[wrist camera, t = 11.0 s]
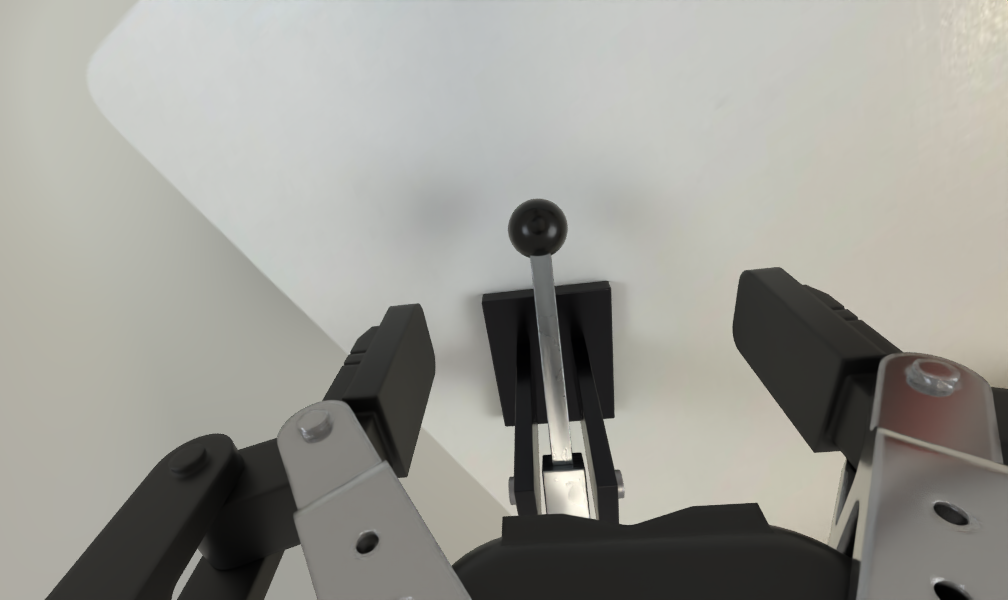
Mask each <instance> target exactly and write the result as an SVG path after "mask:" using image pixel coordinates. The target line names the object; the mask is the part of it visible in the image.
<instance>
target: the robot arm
mask: <svg viewBox="0 0 1008 600" xmlns="http://www.w3.org/2000/svg"><path fill="white" fill-rule="evenodd" d="M733 337H734V341H735V344H736V347H737V349H738V350H739V352H740V353H741V354H742V356H743V357H744V358H745V360H746V361H747V363H748V364H749V365H750V367H751V368H752V369H753V371H754V372H755V373H756V375H757V376H758V377H759V379H760V380H761V381H762V383H763V384H764V386H765V387H766V388H767V390H768V391H769V392H770V394H771V395H772V396H773V398H774V399H775V400H776V402H777V403H778V404H779V406H780V407H781V408H782V410H783V411H784V413H785V414H786V415H787V417H788V418H789V419H790V421H791V422H792V423H793V425H794V426H795V427H796V429H797V430H798V431H799V433H800V434H801V436H802V437H803V438H804V440H805V441H806V442H807V444H808V445H809V446H810V448H811V449H812V450H813V452H814V453H816V452H832V451H841V452H842V453H843V454H844V455H845V457H846V460H845V462H844V465H843V468H842V471H841V477H840V482H839V488H838V493H837V498H836V504H835V509H834V514H833V520H832V525H831V530H830V536H829V541H828V545H826V544H824V543H822V542H820V541H818V540H815V539H813V538H811V537H808V536H805V535H803V534H800V533H797V532H795V531H791V530H788V529H784V528H781V527H777V526H772V525H769V524H768V522H767V521H766V519H765V517H764V515H763V513H762V511H761V509H760V507H759V505H758V503H745V504H727V505H709V506H692V507H689V508H685V509H682V510H679V511H676V512H673V513H670V514H667V515H663V516H660V517H657V518H654V519H651V520H648V521H644V522H641V523H638V524H634V525H622V524H617V523H611V522H606V521H601V520H595V519H590V518H584V517H579V516H574V515H568V514H563V513H561V514H543V515H524V516H508V517H507V516H506V517H503V521H502V522H503V523H502V537H500V538H498V539H494V540H492V541H489V542H487V543H485V544H483V545H481V546H479V547H477V548H475V549H474V550H472V551H470V552H469V553H467V554H466V555H464V556H463V557H462V558H460V559H459V560H458V561H457V562H455V563H454V564H453V565H452V566H451V565H450V563H449V561H448V560H447V558H446V557H445V555H444V553H443V552H442V550H441V548H440V547H439V545H438V543H437V542H436V540H435V538H434V537H433V535H432V534H431V532H430V530H429V529H428V527H427V525H426V524H425V522H424V520H423V519H422V517H421V515H420V514H419V512H418V510H417V509H416V507H415V506H414V504H413V502H412V501H411V499H410V497H409V496H408V494H407V493H406V491H405V489H404V488H403V486H402V484H401V483H400V481H399V479H398V478H402V477H407V476H408V472H409V468H410V464H411V461H412V457H413V454H414V450H415V446H416V442H417V439H418V435H419V431H420V428H421V424H422V420H423V416H424V413H425V409H426V405H427V402H428V398H429V394H430V390H431V387H432V383H433V379H434V375H435V355H434V350H433V346H432V343H431V339H430V335H429V331H428V327H427V324H426V320H425V316H424V312H423V309H422V307H421V305H420V304H408V305H398V306H390V307H389V309H388V311H387V312H386V314H385V316H384V318H383V320H382V322H381V324H380V326H374V327H371V328H370V329H369V330H368V331H366V332H365V333H364V334H363V335H362V336H361V337H359V338H358V339H357V341H356V343H355V345H354V346H353V348H352V350H351V352H350V353H351V354H350V355H348V357H347V359H346V360H345V362H344V366H342V367H341V369H340V371H339V373H338V374H337V376H336V378H335V379H334V381H333V383H332V385H331V386H330V388H329V390H328V392H327V393H326V395H325V397H324V399H323V400H322V401H321V402H317V403H315V404H312V405H309V406H307V407H305V408H303V409H301V410H300V411H298V412H297V413H295V414H294V415H293V416H291V417H290V418H289V419H288V420H287V421H286V422H285V424H284V425H283V426H282V427H281V429H280V431H279V433H278V436H277V438H275V439H272V440H269V441H266V442H262V443H259V444H256V445H253V446H249V447H246V448H243V449H240V450H237V448H236V446H235V445H234V443H233V441H232V440H231V438H230V437H228V436H227V435H224V434H209V435H205V436H201V437H198V438H196V439H193V440H191V441H189V442H187V443H185V444H183V445H181V446H179V447H178V448H176V449H175V450H173V451H172V452H170V453H169V454H168V455H166V456H165V457H164V458H163V459H162V460H161V461H160V462H159V463H158V464H157V465H156V466H155V467H154V468H153V470H152V471H151V472H150V473H149V474H148V476H147V477H146V478H145V479H144V481H143V482H142V483H141V484H140V485H139V486H138V488H137V489H136V490H135V492H133V494H132V495H131V496H130V498H129V499H128V500H127V501H126V502H125V503H124V505H123V506H122V507H121V509H119V511H118V512H117V513H116V514H115V515H114V517H113V518H112V519H111V520H110V522H109V523H108V524H107V525H106V526H105V528H104V529H103V530H102V531H101V532H100V534H99V535H98V536H97V537H96V538H95V540H94V541H93V542H92V543H91V544H90V546H89V547H88V548H87V549H86V551H85V552H84V553H83V554H82V555H81V557H80V558H79V559H78V560H77V561H76V563H75V564H74V565H73V566H72V568H71V569H70V570H69V571H68V573H67V574H66V575H65V576H64V577H63V578H62V580H61V581H60V582H59V583H58V585H57V586H56V587H55V588H54V589H53V591H52V592H51V593H50V594H49V596H48V597H47V598H46V599H45V600H171V599H172V594H173V590H174V588H175V586H176V583H177V582H178V580H179V578H180V576H181V574H182V573H183V571H184V570H185V568H186V566H187V565H188V563H189V561H190V560H191V558H192V556H193V555H194V553H195V551H196V550H197V548H198V550H199V551H200V552H201V553H202V555H203V556H202V558H201V559H200V561H199V563H198V564H197V566H196V568H195V570H194V571H193V573H192V575H191V577H190V578H189V580H188V582H187V583H186V585H185V587H184V588H183V590H182V592H181V594H180V596H179V597H178V599H177V600H264V598H265V596H266V593H267V591H268V589H269V586H270V584H271V581H272V579H273V577H274V574H275V572H276V569H277V567H278V565H279V562H280V560H281V558H282V555H283V553H284V551H285V549H289V548H291V547H294V546H297V545H300V544H301V546H302V549H303V552H304V556H305V559H306V562H307V566H308V569H309V572H310V576H311V579H312V583H313V586H314V590H315V593H316V596H317V600H1008V389H1004V388H995V387H990V385H989V384H988V382H987V381H986V380H985V379H984V378H983V377H981V376H980V375H979V374H977V373H976V372H974V371H973V370H971V369H969V368H967V367H965V366H963V365H961V364H959V363H956V362H954V361H951V360H948V359H945V358H942V357H938V356H933V355H928V354H922V353H910V352H904V353H903V352H902V351H901V350H900V349H898V348H897V347H896V346H894V345H893V344H892V343H891V342H889V341H888V340H887V339H885V338H884V337H883V336H881V335H880V334H879V333H878V332H876V331H875V330H874V329H872V328H871V327H870V326H869V325H867V324H866V323H865V322H863V321H862V320H858V317H857V316H856V315H854V314H853V313H852V312H851V311H849V310H848V309H844V306H843V305H841V304H840V303H839V302H838V301H836V300H835V299H834V298H832V297H831V296H830V295H829V294H826V293H824V292H822V291H819V290H817V289H815V288H812V287H810V286H807V285H802V284H800V283H799V282H798V281H797V280H795V279H794V278H793V277H792V276H791V275H789V274H788V273H787V272H786V271H784V270H783V269H782V268H780V267H774V268H764V269H754V270H746V271H744V272H742V274H741V276H740V279H739V284H738V291H737V298H736V305H735V312H734V319H733Z"/></svg>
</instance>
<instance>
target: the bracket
mask: <svg viewBox="0 0 1008 600" xmlns="http://www.w3.org/2000/svg"><path fill="white" fill-rule="evenodd" d="M554 288H555V297H556V306H557V316H558V325H559V334H560V344H561V353H562V362H563V372H564V381H565V390H566V400H567V409H568V419H569V422H570V421H581V427H582V433H583V439H584V446H585V452H586V458H587V464H588V470H589V476H590V483H591V489H592V495H593V501H594V507H595V513H596V520H601V521H606V522H611V523H617V524H619V503H618V498H624V485H623V479H622V474H621V471H620V470H614V465H613V461H612V456H611V452H610V448H609V443H608V439H607V434H606V430H605V425H604V421H603V419H609V418H614V417H615V414H614V377H613V341H612V304H611V287H610V285H609V282H608V281H602V282H593V283H584V284H575V285H566V286H557V287H554ZM482 307H483V312H484V318H485V323H486V328H487V333H488V339H489V344H490V349H491V354H492V360H493V365H494V370H495V375H496V381H497V386H498V391H499V396H500V402H501V407H502V412H503V417H504V423H505V426H515V451H514V477H509V498H510V503H511V505H516V506H517V511H518V516H524V515H542V513H541V490H540V466H539V443H538V424H545V423H548V419H547V409H546V400H545V391H544V381H543V372H542V363H541V353H540V344H539V335H538V325H537V316H536V307H535V297H534V289H529V290H520V291H511V292H501V293H492V294H484V295H483V297H482Z"/></svg>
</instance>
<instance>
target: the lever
mask: <svg viewBox="0 0 1008 600" xmlns="http://www.w3.org/2000/svg"><path fill="white" fill-rule="evenodd" d="M567 231H568V225H567V220H566V217H565V215H564V213H563V211H562V210H561V209H560V208H559V207H558V206H557V205H556V204H554V203H553V202H551V201H548V200H545V199H531V200H528V201H526V202H524V203H522V204H521V205H519V206H518V207H517V208H516V209H515V210H514V212H513V213H512V215H511V217H510V220H509V224H508V234H509V238H510V241H511V243H512V245H513V246H514V248H515V249H516V250H517V251H518V252H519V253H521V254H522V255H524V256H526V257H529V258H530V260H531V269H532V279H533V288H534V297H535V307H536V316H537V325H538V335H539V344H540V353H541V363H542V372H543V381H544V391H545V400H546V409H547V419H548V428H549V437H550V447H551V455H543V461H542V476H543V485H544V495H545V504H546V513H547V514H561V513H563V514H568V515H574V516H579V517H584V518H590V511H589V501H588V492H587V483H586V473H585V467H584V462H583V458H582V454H581V453H572V447H571V437H570V428H569V419H568V409H567V400H566V390H565V381H564V372H563V362H562V353H561V344H560V334H559V325H558V316H557V306H556V297H555V288H554V278H553V269H552V260H551V255H553V254H554V253H556V252H557V251H558V250H559V249H560V248H561V247H562V245H563V244H564V242H565V240H566V237H567Z"/></svg>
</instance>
